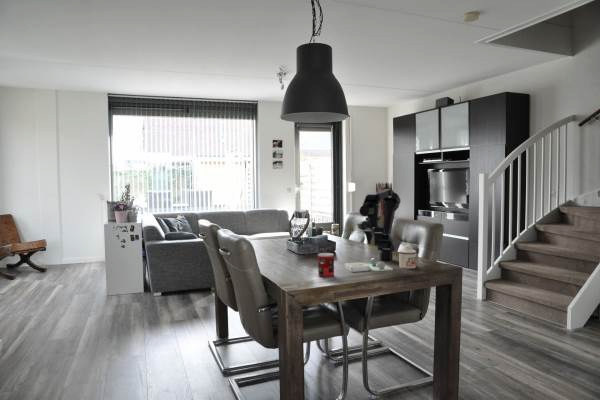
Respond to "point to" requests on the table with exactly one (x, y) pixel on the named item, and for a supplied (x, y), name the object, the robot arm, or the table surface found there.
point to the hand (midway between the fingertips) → (372, 244)
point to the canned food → (326, 265)
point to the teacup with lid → (407, 258)
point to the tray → (378, 268)
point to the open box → (357, 267)
